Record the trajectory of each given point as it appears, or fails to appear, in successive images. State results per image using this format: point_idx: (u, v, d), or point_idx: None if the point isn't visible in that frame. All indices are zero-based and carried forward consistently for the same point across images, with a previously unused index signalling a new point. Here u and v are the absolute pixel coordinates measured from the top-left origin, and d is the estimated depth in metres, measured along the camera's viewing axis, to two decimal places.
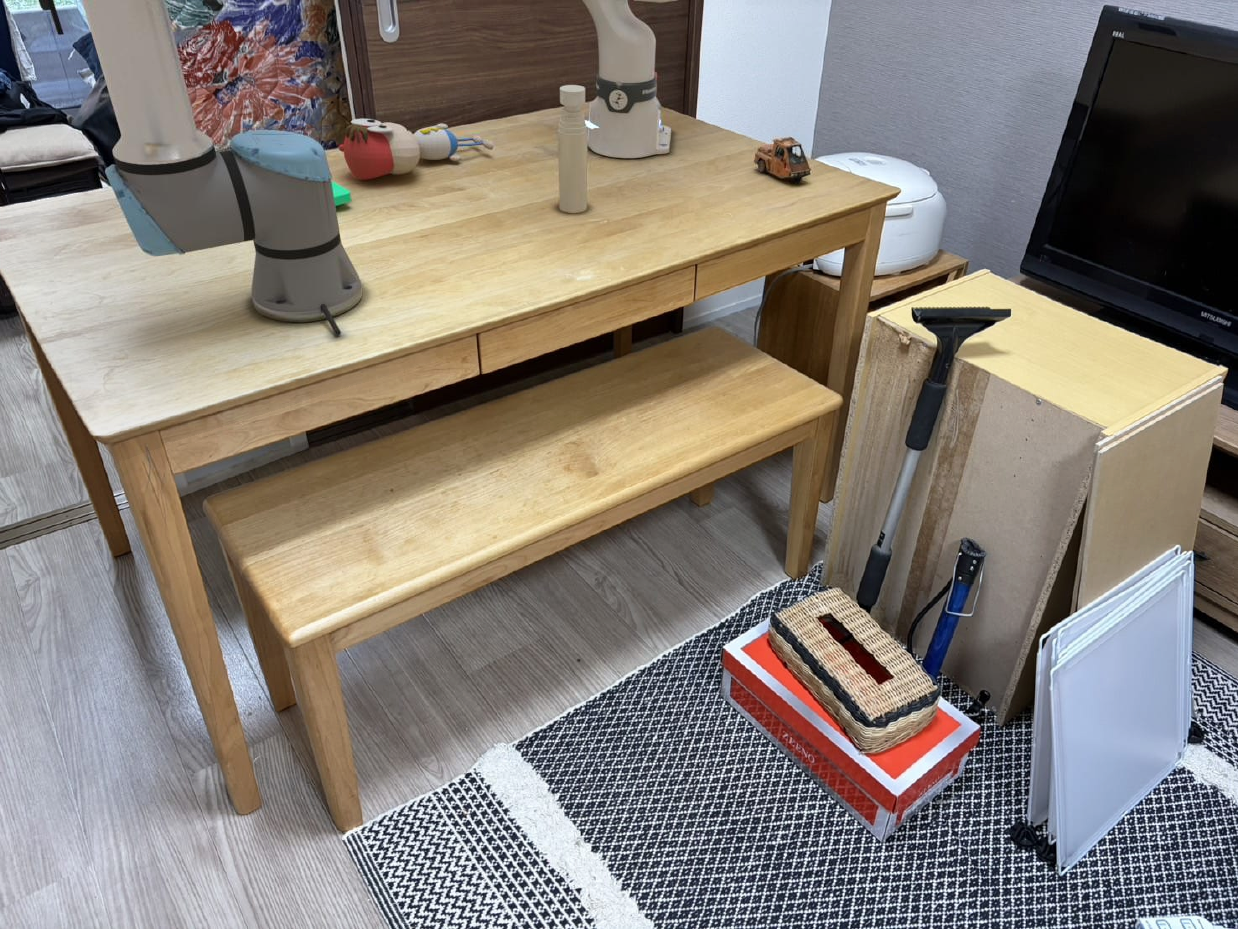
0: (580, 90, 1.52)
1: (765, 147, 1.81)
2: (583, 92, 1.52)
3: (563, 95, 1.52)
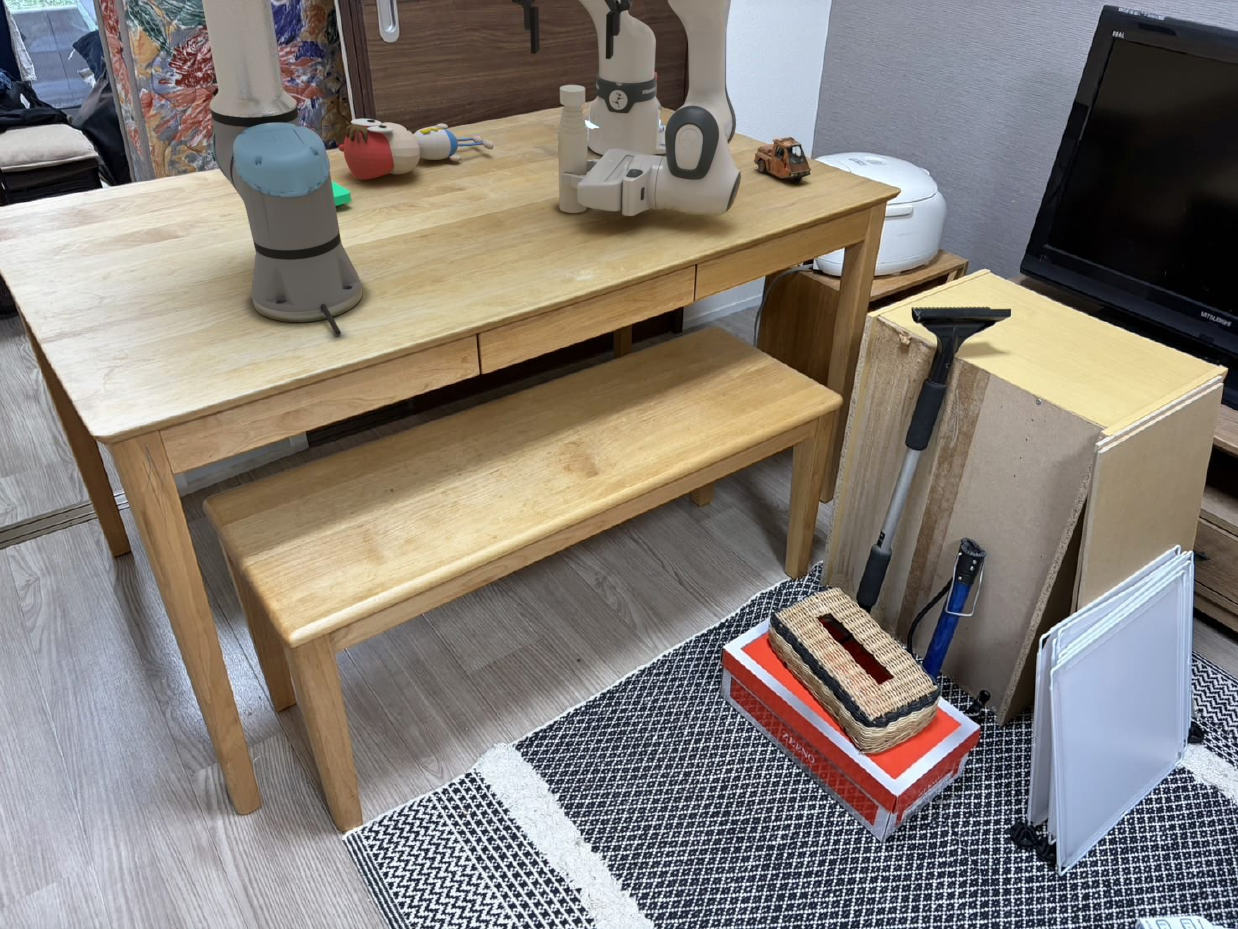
0: (580, 90, 1.52)
1: (765, 147, 1.81)
2: (583, 92, 1.52)
3: (564, 95, 1.52)
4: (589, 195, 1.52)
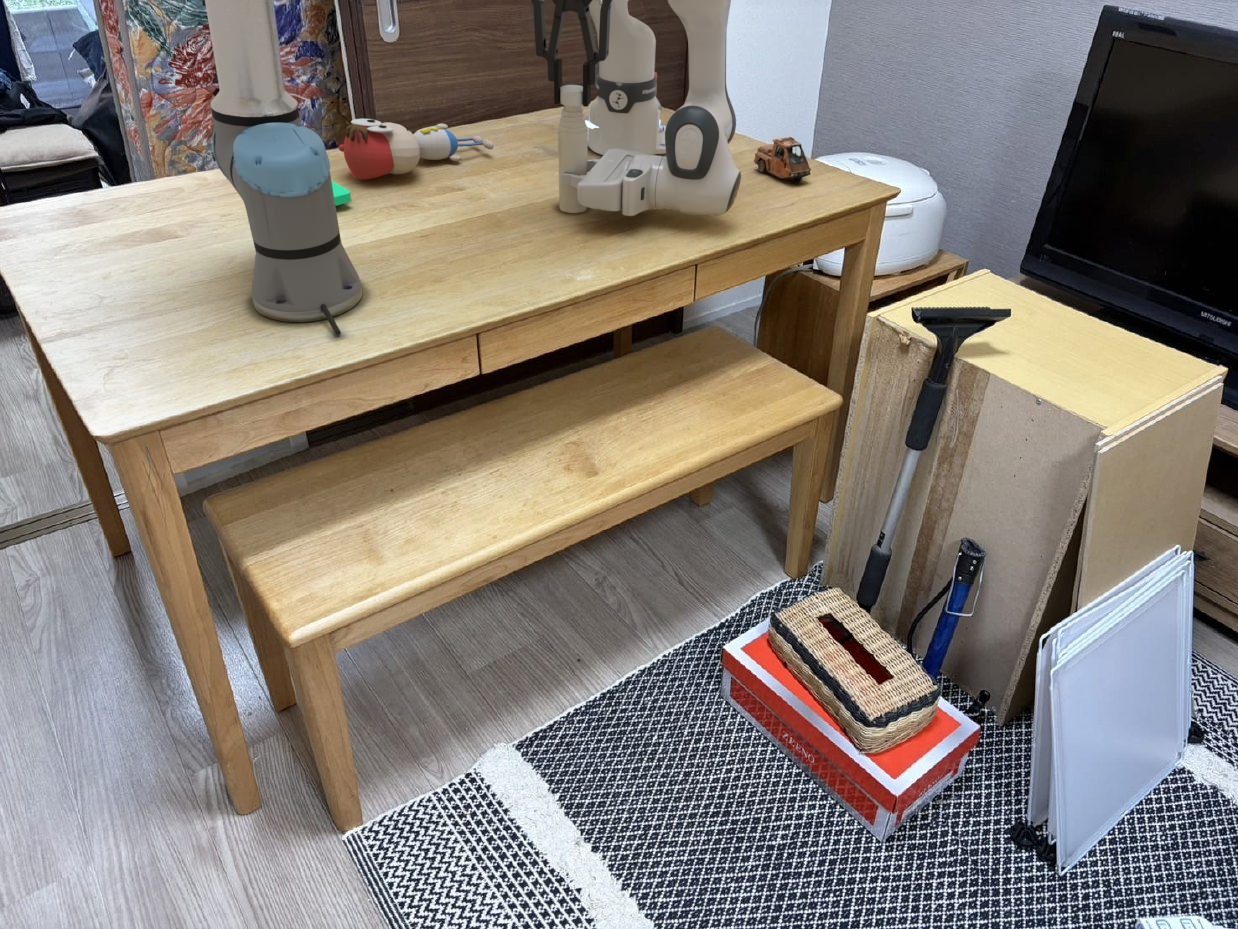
0: (580, 90, 1.52)
1: (765, 147, 1.81)
2: None
3: (563, 95, 1.52)
4: (589, 195, 1.52)
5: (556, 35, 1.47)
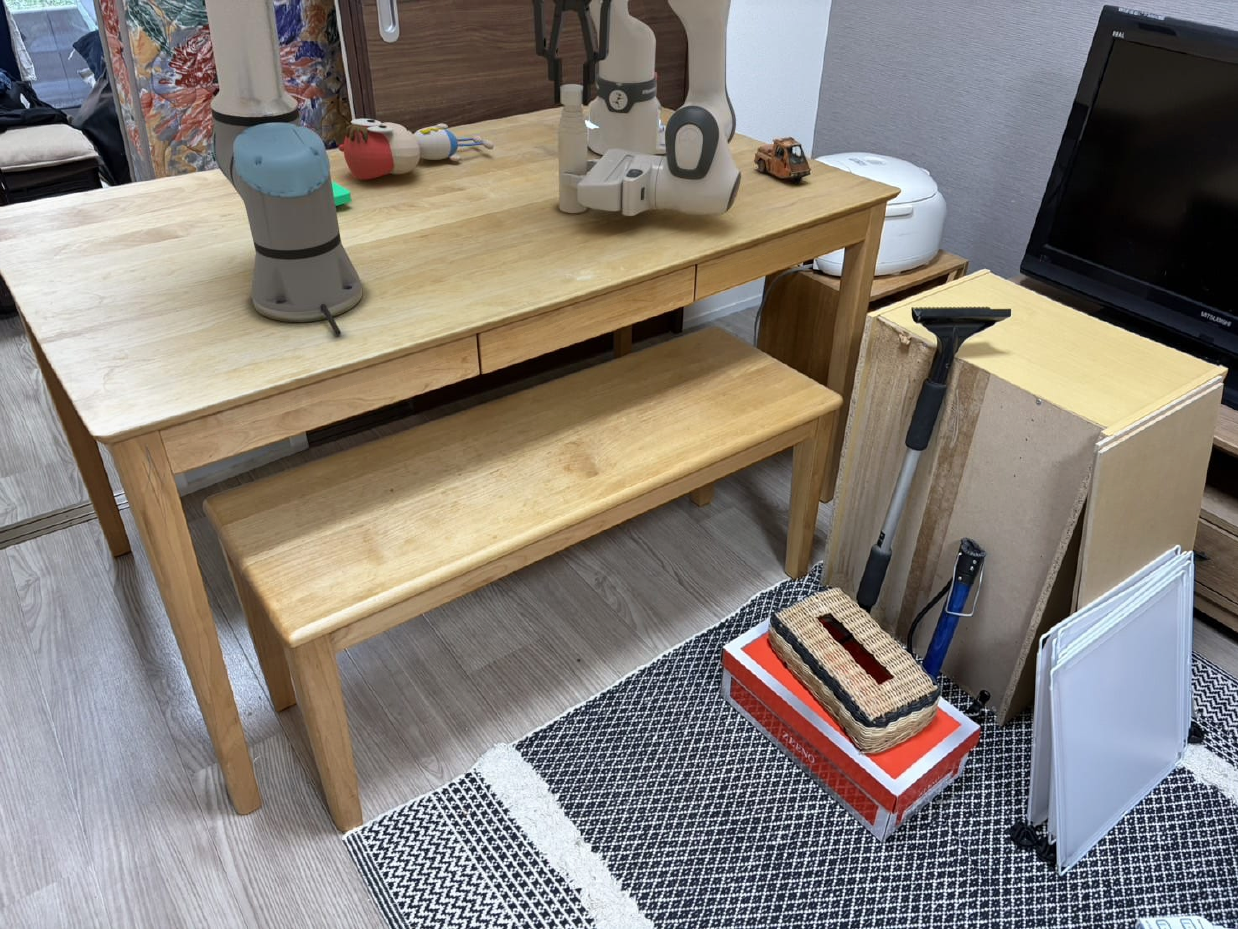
0: (578, 85, 1.54)
1: (765, 147, 1.81)
2: None
3: (582, 94, 1.52)
4: (589, 195, 1.52)
5: (556, 34, 1.47)
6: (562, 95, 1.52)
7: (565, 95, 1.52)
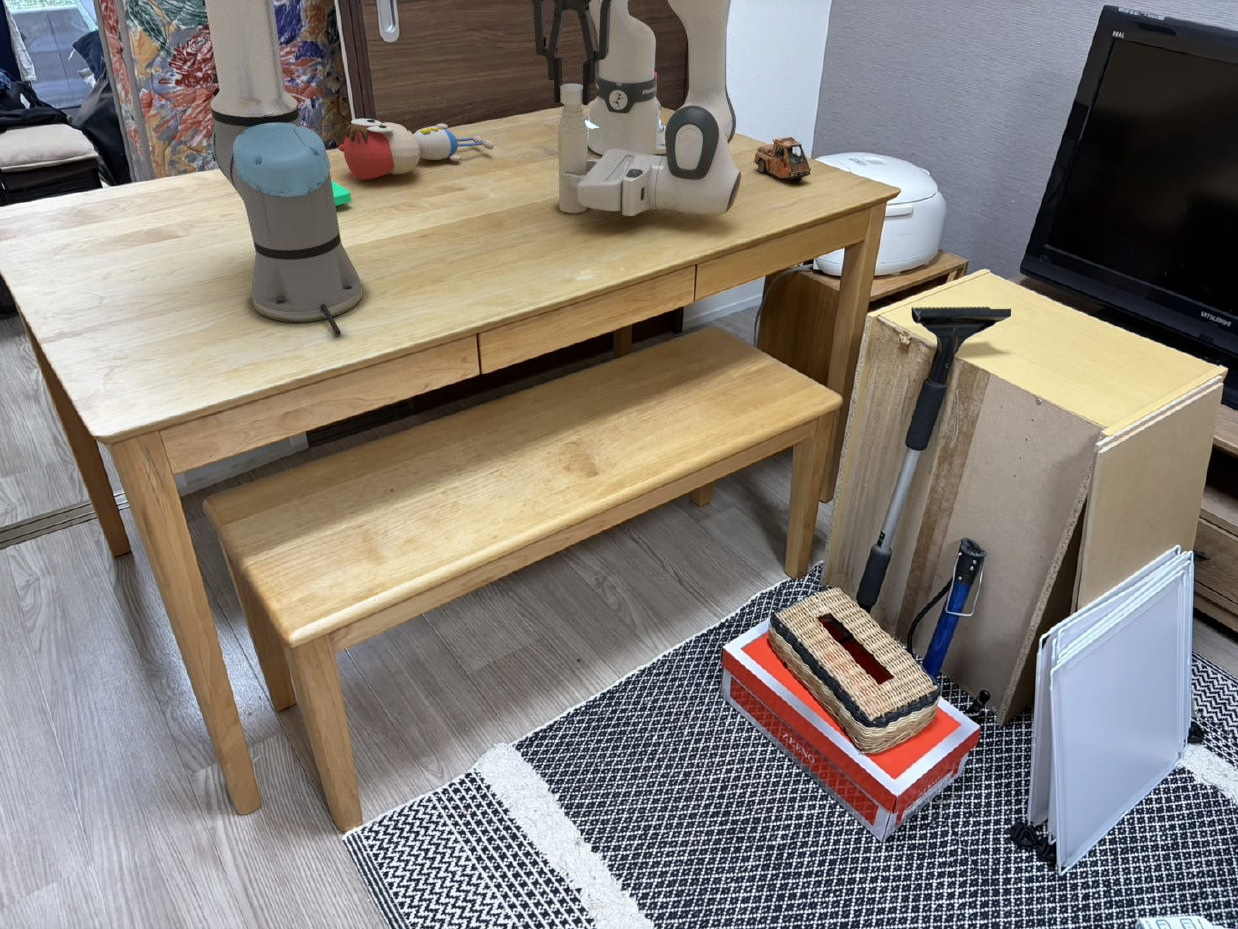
0: (563, 85, 1.53)
1: (765, 147, 1.81)
2: None
3: None
4: (589, 195, 1.52)
5: (556, 33, 1.47)
6: (581, 95, 1.52)
7: None
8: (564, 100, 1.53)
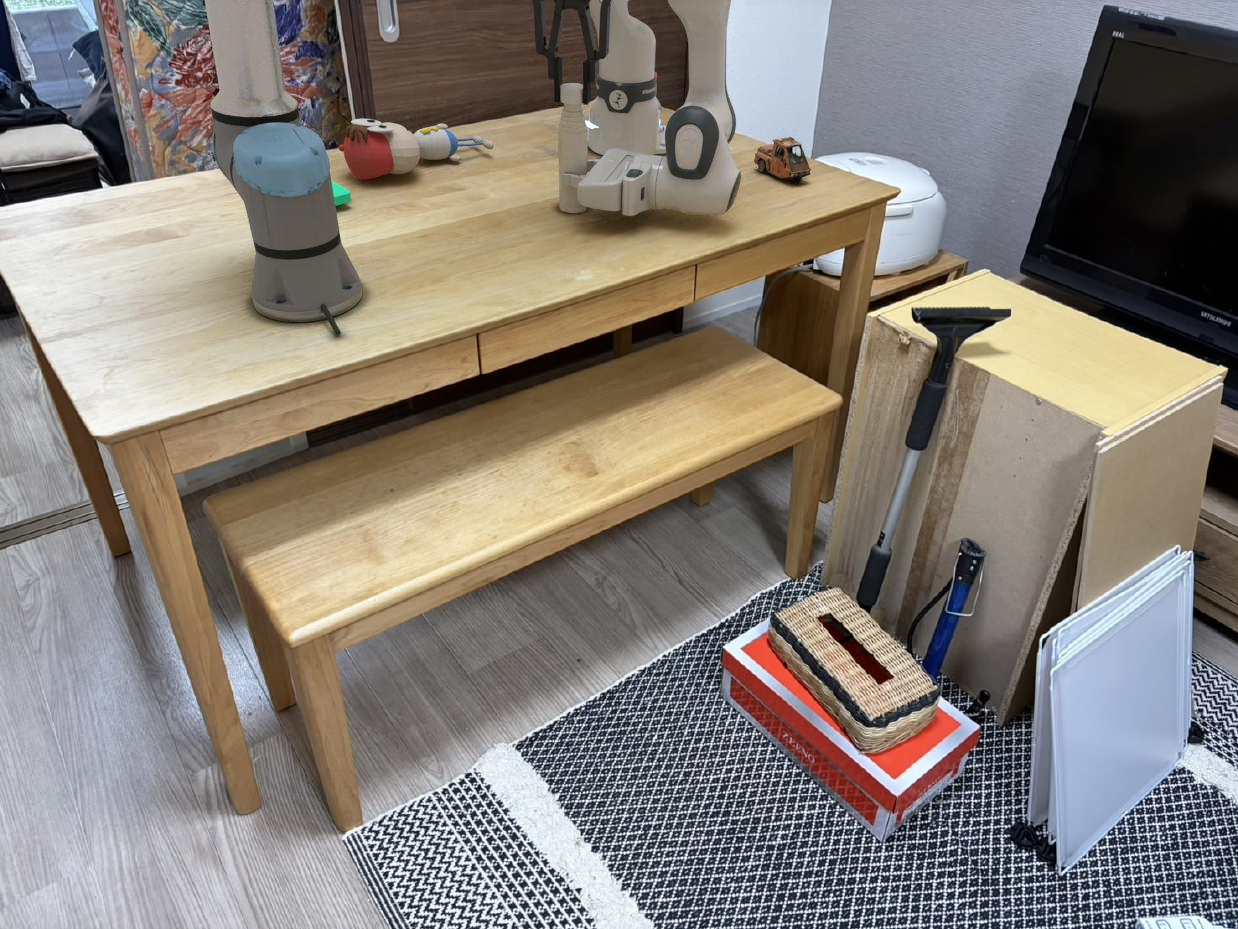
0: (568, 89, 1.51)
1: (765, 147, 1.81)
2: (570, 92, 1.51)
3: None
4: (589, 195, 1.52)
5: (556, 33, 1.47)
6: None
7: None
8: (582, 99, 1.53)
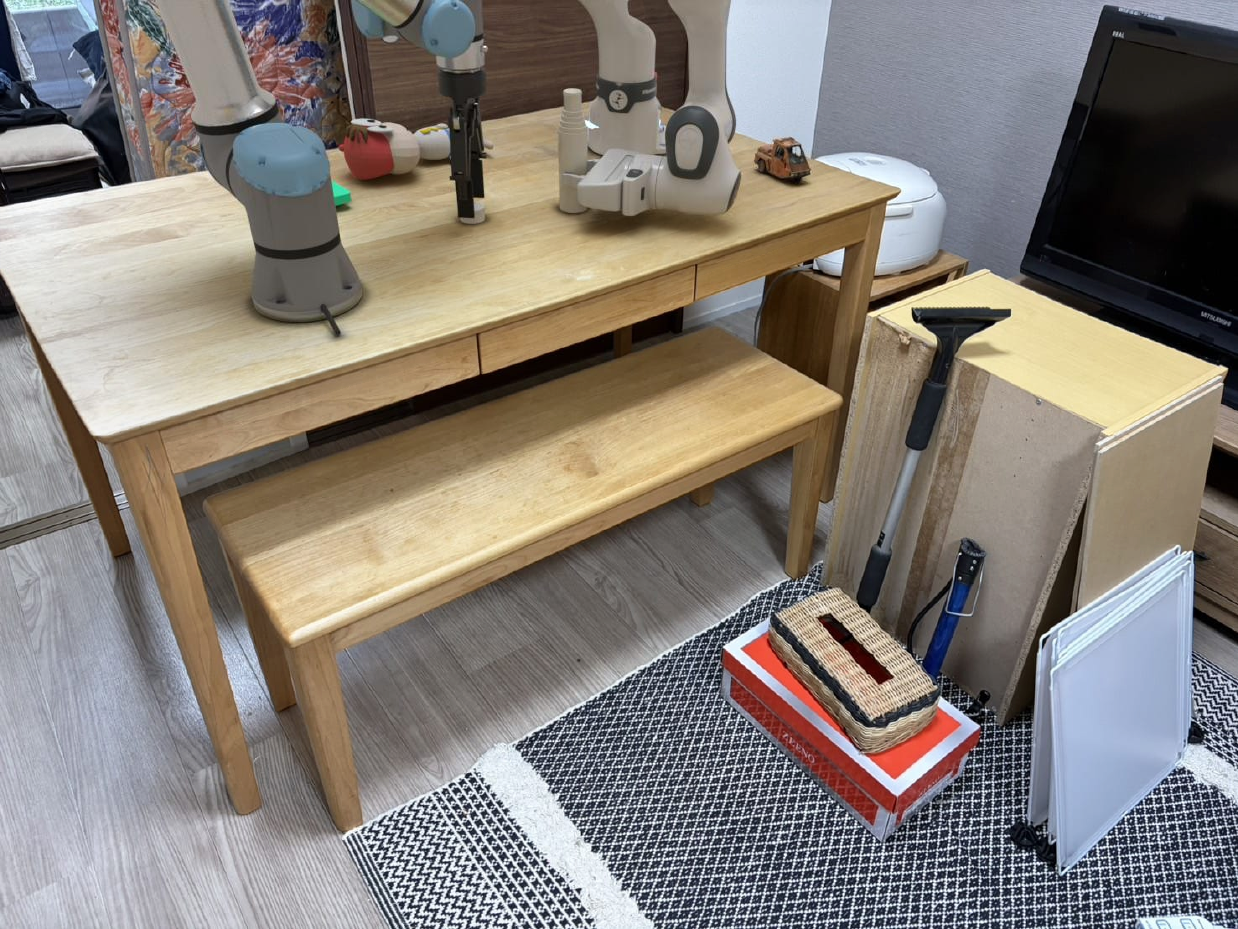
0: (481, 207, 1.58)
1: (765, 147, 1.81)
2: (483, 208, 1.59)
3: None
4: (589, 195, 1.52)
5: (470, 154, 1.49)
6: None
7: None
8: None
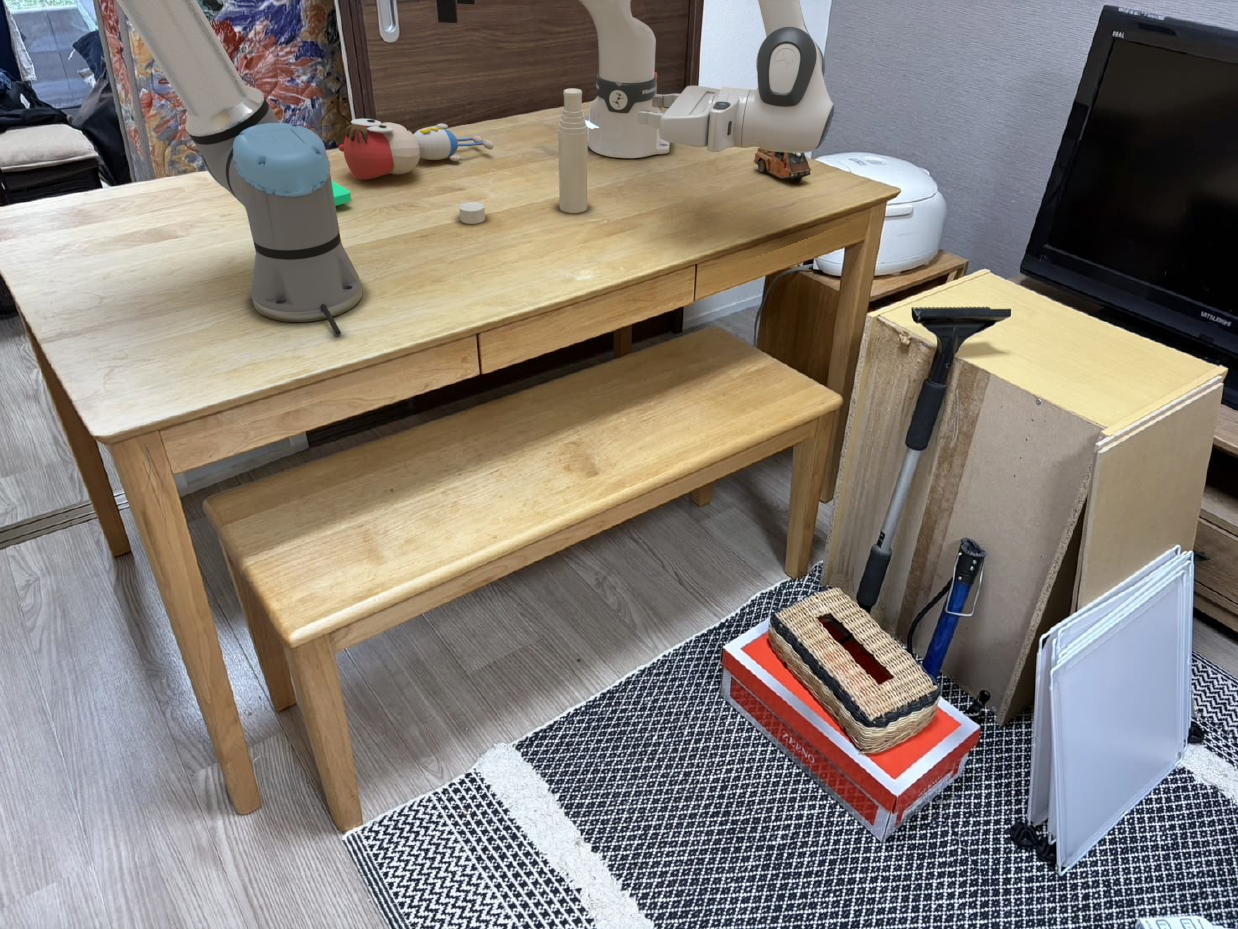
0: (481, 207, 1.58)
1: None
2: (483, 208, 1.59)
3: (467, 215, 1.57)
4: (673, 128, 1.42)
5: None
6: None
7: None
8: None
